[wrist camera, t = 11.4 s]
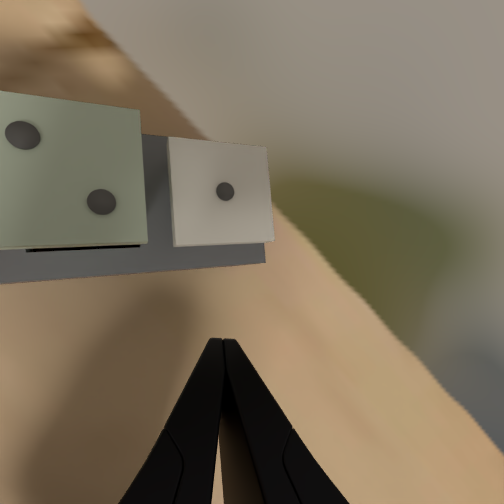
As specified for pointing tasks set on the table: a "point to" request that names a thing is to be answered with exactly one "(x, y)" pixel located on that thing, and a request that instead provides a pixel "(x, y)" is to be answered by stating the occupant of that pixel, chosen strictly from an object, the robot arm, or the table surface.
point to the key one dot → (218, 193)
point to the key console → (131, 259)
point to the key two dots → (69, 174)
